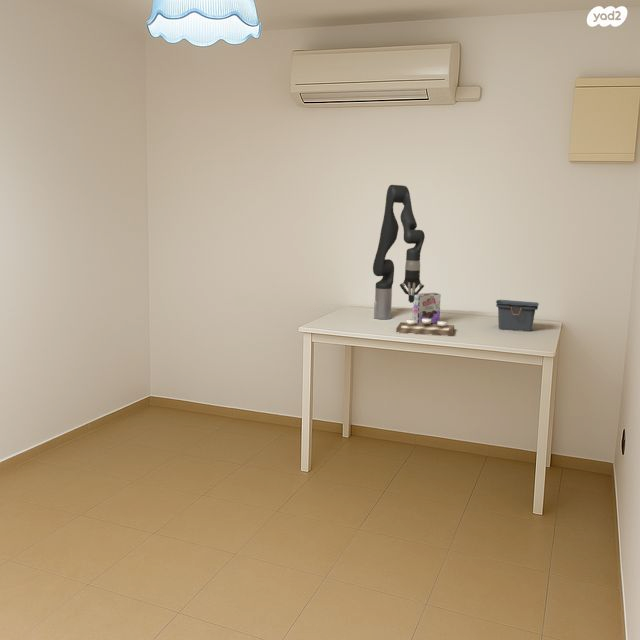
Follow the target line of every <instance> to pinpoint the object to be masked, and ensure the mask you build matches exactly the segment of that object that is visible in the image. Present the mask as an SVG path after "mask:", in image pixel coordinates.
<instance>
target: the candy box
mask: <svg viewBox="0 0 640 640" xmlns="http://www.w3.org/2000/svg"><path fill="white" fill-rule="evenodd" d="M412 306H413V307H412V320H416V323H422V319H423V318H429V319H431V323H435V324H437V322H438V321H440V318H441V317H440V312H441V293H438V292H421V293H420V292H419V293H418V294H417V295H415V296H414V302H413V305H412ZM431 323H430V324H431ZM422 324H424V323H422Z"/></svg>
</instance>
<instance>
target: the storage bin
mask: <svg viewBox="0 0 640 640" xmlns="http://www.w3.org/2000/svg"><path fill="white" fill-rule="evenodd" d="M539 305H540V303H539V302H537V301H534V302H533V301H523V300H522V301H520V300H509V299H496V301H495V306H496V307H497V310H498V311H497V312H498V315H497V316H498V317H497V319H498V329H499V330H506V329H509V331H519V330H523V331H522V332H532V330H533V325H534V319H535V313H536V311H537V310H538V308H539Z"/></svg>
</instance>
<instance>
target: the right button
mask: <svg viewBox="0 0 640 640" xmlns="http://www.w3.org/2000/svg"><path fill="white" fill-rule="evenodd" d="M436 324H437V326H441V327H445V326H447V325H448V322H447V321H445V320H439V321H438V322H437V323H436Z"/></svg>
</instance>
